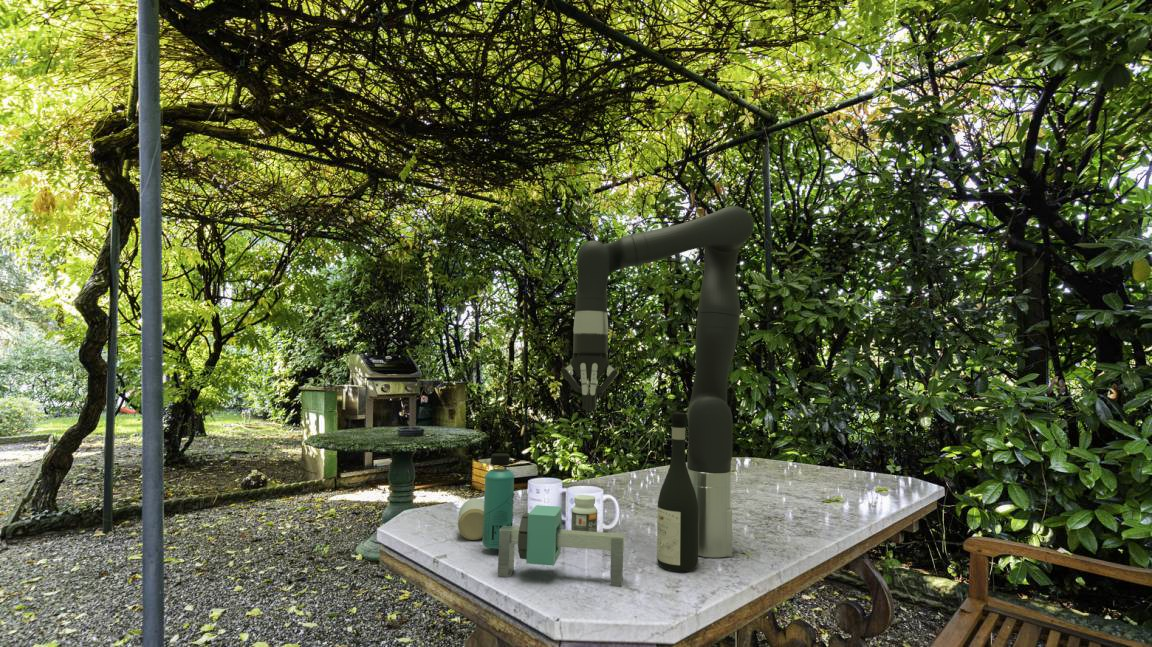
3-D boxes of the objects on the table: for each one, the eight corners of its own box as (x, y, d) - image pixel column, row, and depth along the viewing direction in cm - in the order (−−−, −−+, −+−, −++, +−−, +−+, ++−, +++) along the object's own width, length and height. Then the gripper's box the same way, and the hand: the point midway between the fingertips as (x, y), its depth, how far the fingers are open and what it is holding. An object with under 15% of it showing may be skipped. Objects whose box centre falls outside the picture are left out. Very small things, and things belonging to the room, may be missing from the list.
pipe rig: (623, 578, 103) (624, 532, 104) (622, 586, 99) (623, 538, 100) (502, 568, 106) (504, 523, 107) (496, 576, 102) (498, 529, 103)
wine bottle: (671, 575, 105) (672, 414, 108) (649, 562, 113) (651, 411, 115) (706, 570, 109) (707, 414, 111) (682, 557, 116) (684, 411, 118)
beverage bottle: (487, 557, 112) (491, 456, 114) (476, 548, 118) (480, 452, 120) (517, 553, 115) (520, 455, 117) (506, 544, 121) (509, 450, 123)
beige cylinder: (456, 542, 122) (458, 506, 123) (457, 531, 130) (459, 497, 131) (505, 542, 124) (507, 506, 125) (503, 531, 132) (505, 498, 133)
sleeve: (560, 552, 107) (561, 506, 107) (553, 565, 100) (555, 516, 100) (534, 551, 107) (536, 505, 108) (526, 563, 100) (527, 514, 101)
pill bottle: (594, 547, 121) (595, 500, 122) (568, 545, 122) (569, 498, 123) (598, 540, 126) (599, 495, 127) (573, 538, 128) (574, 493, 129)
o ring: (535, 550, 108) (536, 510, 108) (526, 563, 100) (527, 520, 101) (526, 550, 108) (528, 509, 109) (517, 563, 100) (518, 519, 101)
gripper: (621, 334, 126) (620, 412, 124) (563, 333, 128) (561, 410, 126) (619, 332, 119) (618, 415, 117) (558, 331, 120) (555, 412, 119)
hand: (588, 412), depth 122 cm, fingers closed
